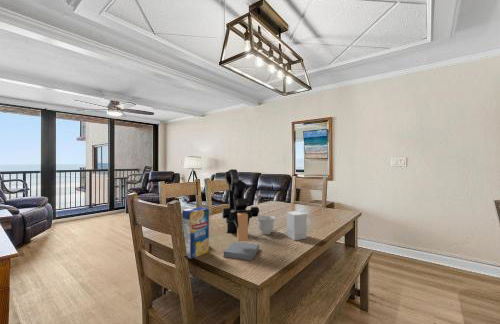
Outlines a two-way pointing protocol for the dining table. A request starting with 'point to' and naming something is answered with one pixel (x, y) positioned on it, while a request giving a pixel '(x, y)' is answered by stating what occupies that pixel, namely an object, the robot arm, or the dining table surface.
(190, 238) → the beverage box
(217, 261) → the dining table surface
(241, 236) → the orange carton
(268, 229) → the teacup
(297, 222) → the supplement box
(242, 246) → the display podium
